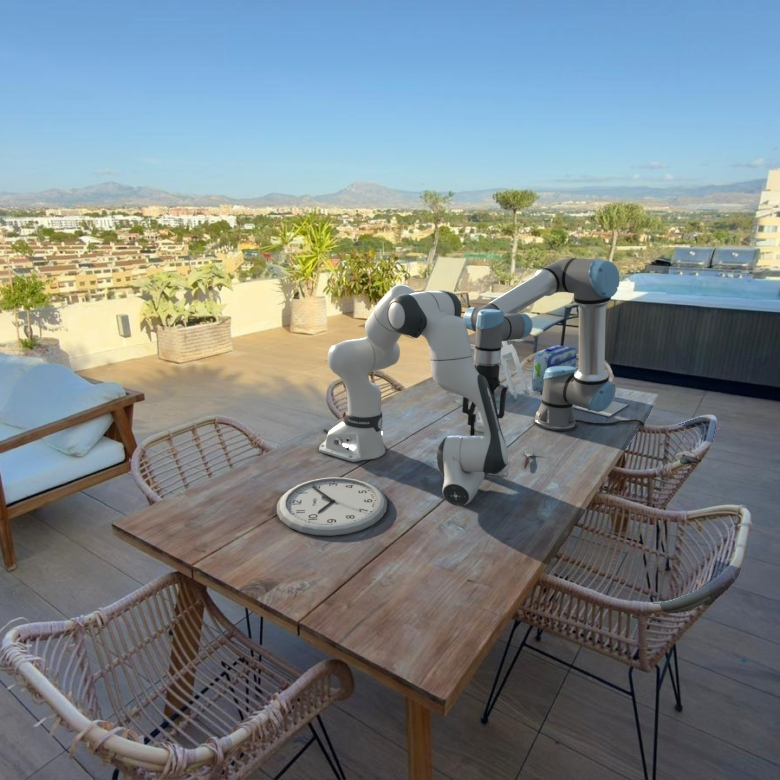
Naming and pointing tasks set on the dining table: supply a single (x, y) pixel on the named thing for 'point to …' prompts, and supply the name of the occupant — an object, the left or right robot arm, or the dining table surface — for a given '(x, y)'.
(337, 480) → the wall clock
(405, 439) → the dining table surface
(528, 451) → the fork
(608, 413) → the invitation card
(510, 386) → the white plastic object
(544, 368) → the lunch box
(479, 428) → the lid
